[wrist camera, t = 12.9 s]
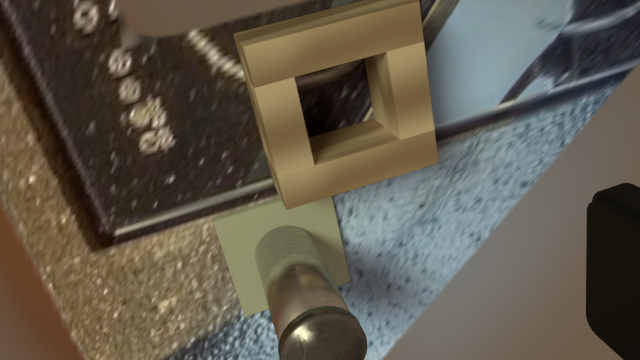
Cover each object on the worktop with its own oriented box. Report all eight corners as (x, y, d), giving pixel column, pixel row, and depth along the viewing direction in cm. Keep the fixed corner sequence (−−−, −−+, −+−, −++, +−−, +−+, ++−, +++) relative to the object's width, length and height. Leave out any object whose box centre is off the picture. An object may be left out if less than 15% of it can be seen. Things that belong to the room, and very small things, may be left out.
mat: (212, 218, 42) (213, 221, 41) (327, 183, 43) (329, 185, 42) (244, 313, 45) (244, 316, 45) (348, 278, 47) (350, 281, 46)
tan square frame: (233, 33, 37) (243, 46, 32) (388, -7, 38) (419, 0, 34) (272, 181, 42) (286, 210, 37) (409, 140, 43) (438, 163, 39)
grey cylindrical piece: (244, 234, 42) (272, 333, 31) (310, 214, 43) (359, 304, 32) (261, 290, 44) (292, 400, 34) (323, 270, 45) (373, 371, 34)
